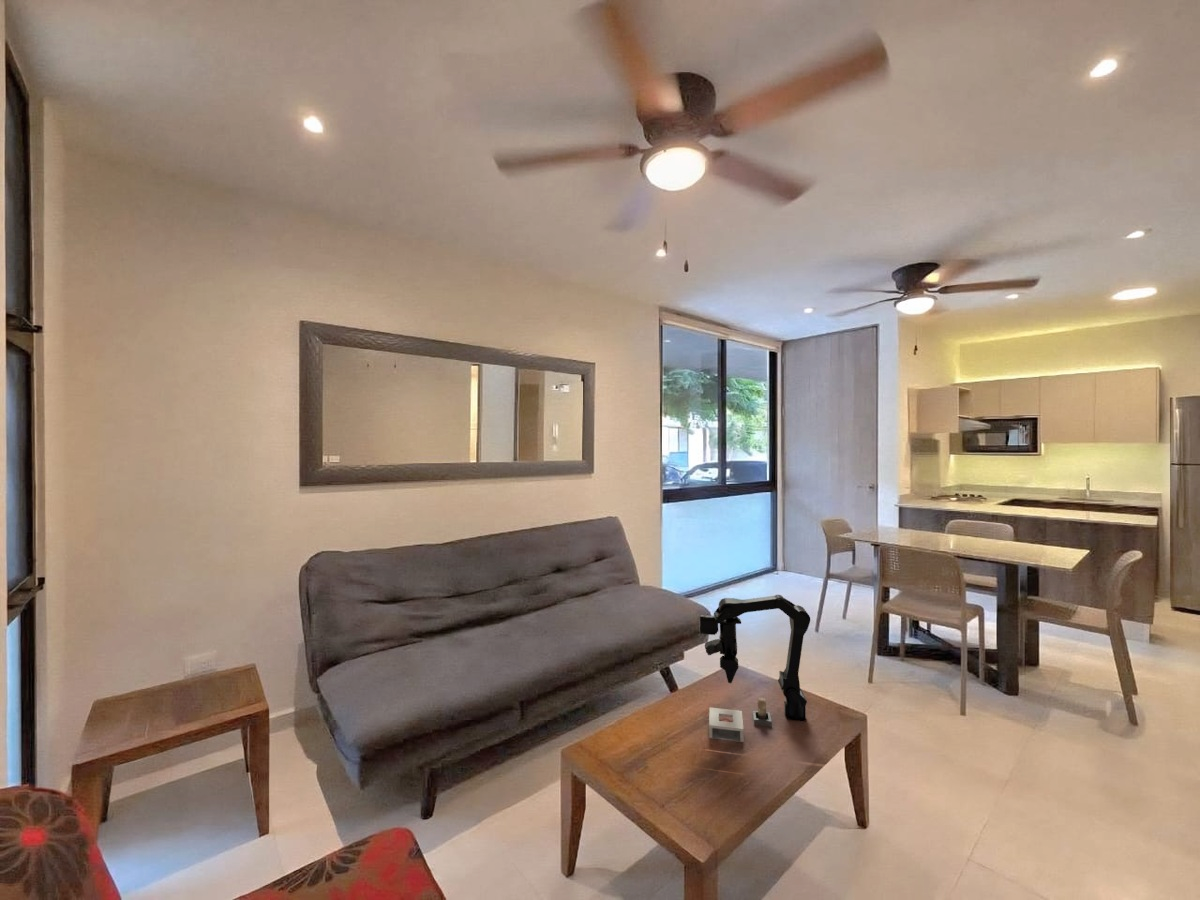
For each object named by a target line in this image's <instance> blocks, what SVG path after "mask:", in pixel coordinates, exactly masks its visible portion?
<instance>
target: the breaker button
mask: <svg viewBox="0 0 1200 900" xmlns="http://www.w3.org/2000/svg"><path fill="white" fill-rule="evenodd" d="M720 720H721V721H725V722H730V721H731V720H730V719H729V718H721V719H720Z"/></svg>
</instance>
